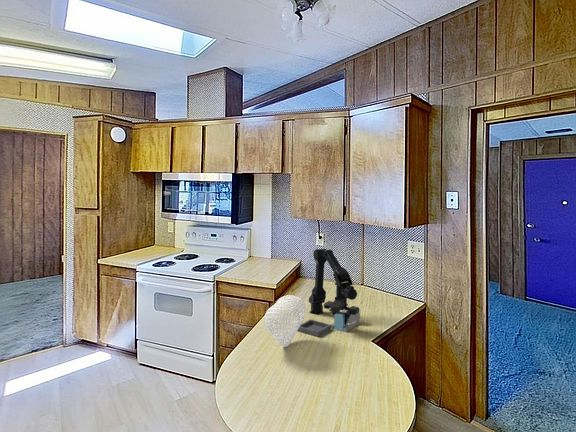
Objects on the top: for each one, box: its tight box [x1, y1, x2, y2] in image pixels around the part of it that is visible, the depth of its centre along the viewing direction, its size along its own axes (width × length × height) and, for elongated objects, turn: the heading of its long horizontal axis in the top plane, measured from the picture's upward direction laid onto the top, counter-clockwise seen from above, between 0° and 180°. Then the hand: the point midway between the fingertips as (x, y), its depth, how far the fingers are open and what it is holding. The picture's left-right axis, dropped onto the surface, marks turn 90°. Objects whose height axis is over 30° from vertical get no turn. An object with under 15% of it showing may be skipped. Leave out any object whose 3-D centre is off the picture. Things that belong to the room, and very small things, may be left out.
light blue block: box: [333, 311, 349, 332], centre depth 185 cm, size 5×6×9 cm
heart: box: [264, 294, 307, 348], centre depth 162 cm, size 28×16×22 cm, turn 164°
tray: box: [297, 318, 332, 338], centre depth 182 cm, size 13×13×3 cm
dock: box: [330, 310, 361, 333], centre depth 190 cm, size 9×18×7 cm, turn 143°
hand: (341, 323), depth 185 cm, fingers closed on light blue block, 5 cm apart
